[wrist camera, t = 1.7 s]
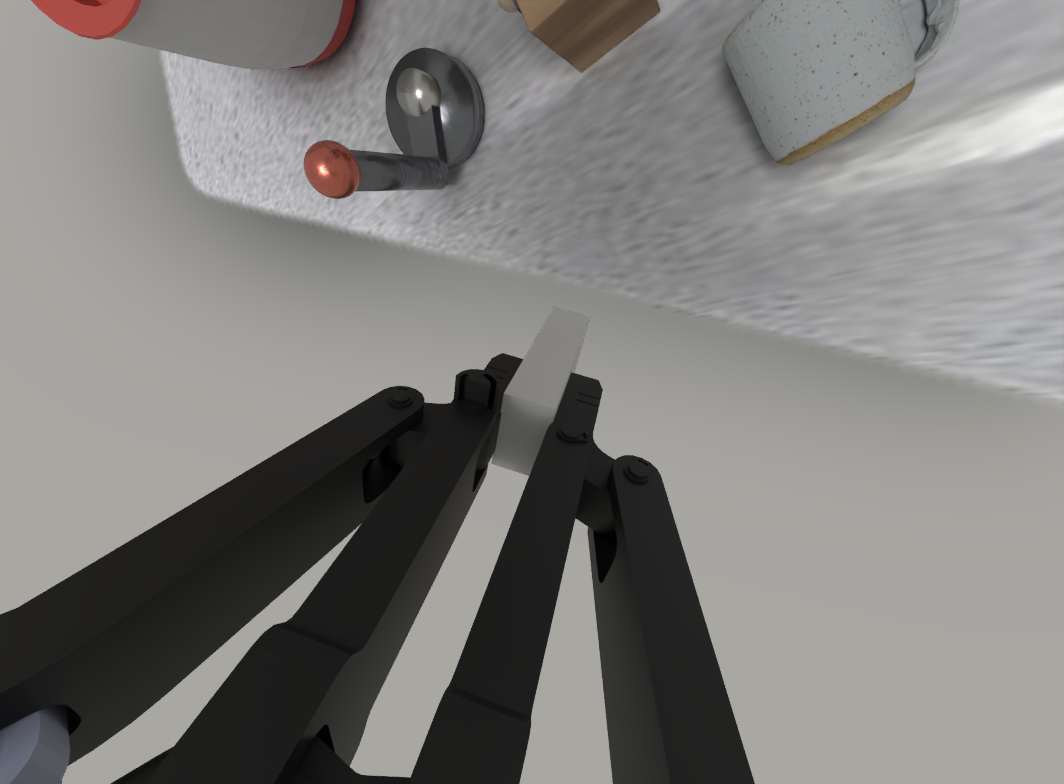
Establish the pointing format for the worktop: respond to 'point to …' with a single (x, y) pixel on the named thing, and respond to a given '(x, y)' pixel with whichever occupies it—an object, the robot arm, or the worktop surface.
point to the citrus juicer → (215, 27)
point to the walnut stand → (582, 24)
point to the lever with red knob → (409, 132)
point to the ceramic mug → (826, 67)
